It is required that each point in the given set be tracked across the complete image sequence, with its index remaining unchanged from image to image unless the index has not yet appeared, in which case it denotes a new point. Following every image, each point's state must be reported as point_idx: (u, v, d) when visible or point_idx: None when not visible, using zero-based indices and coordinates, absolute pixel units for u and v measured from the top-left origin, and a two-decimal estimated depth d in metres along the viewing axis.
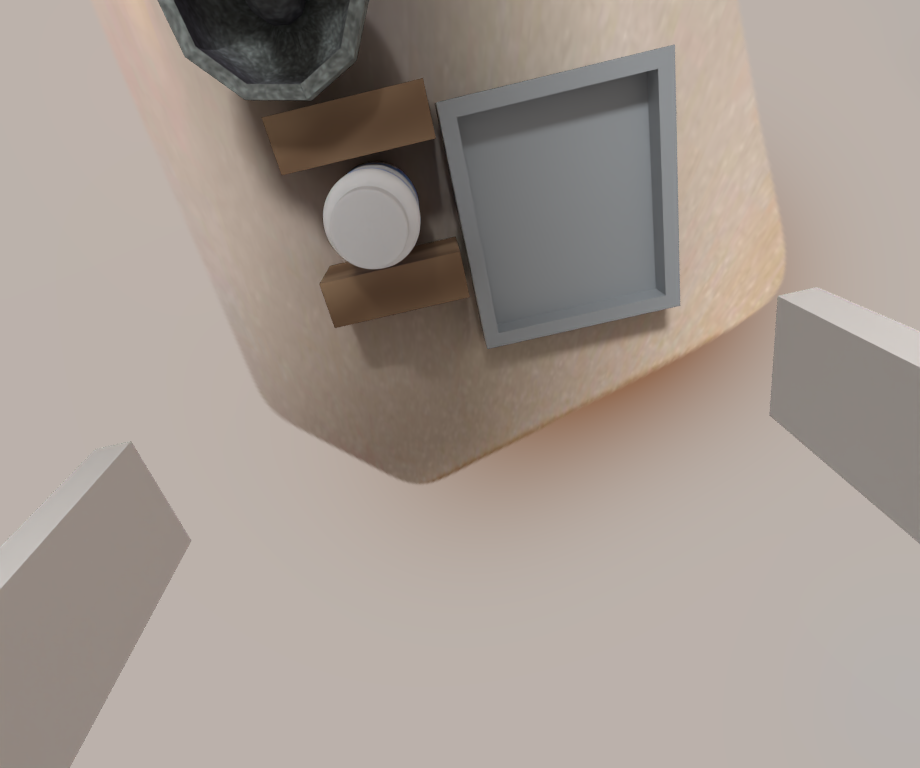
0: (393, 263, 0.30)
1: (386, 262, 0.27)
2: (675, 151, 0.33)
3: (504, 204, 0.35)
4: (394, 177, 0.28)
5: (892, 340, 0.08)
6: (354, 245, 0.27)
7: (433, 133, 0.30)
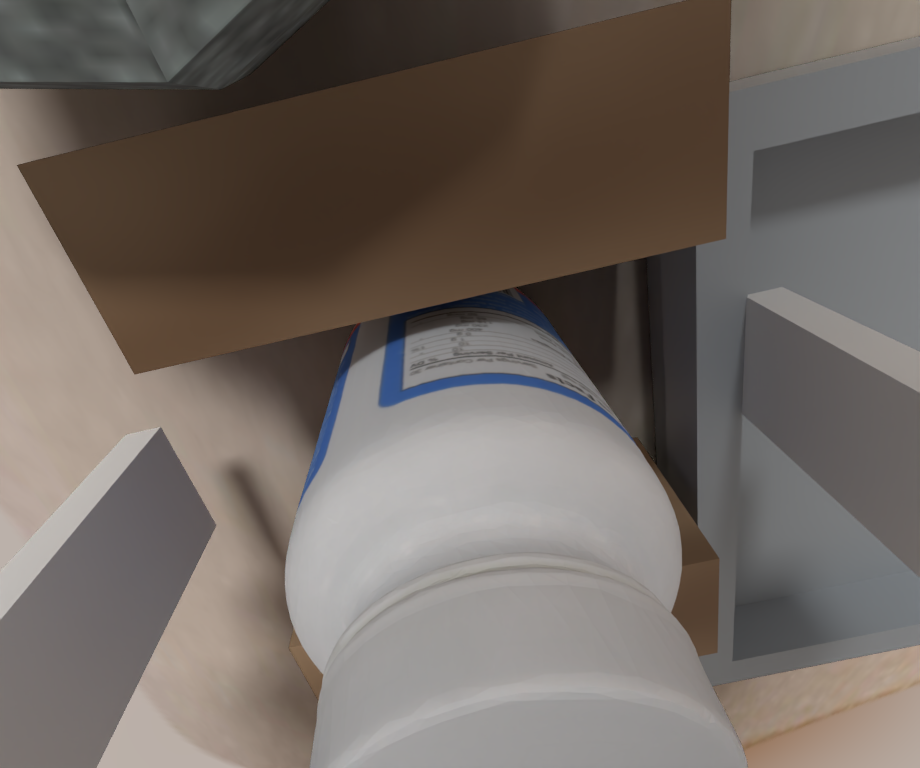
0: None
1: None
2: None
3: None
4: (605, 438, 0.06)
5: (845, 338, 0.08)
6: None
7: (721, 221, 0.08)
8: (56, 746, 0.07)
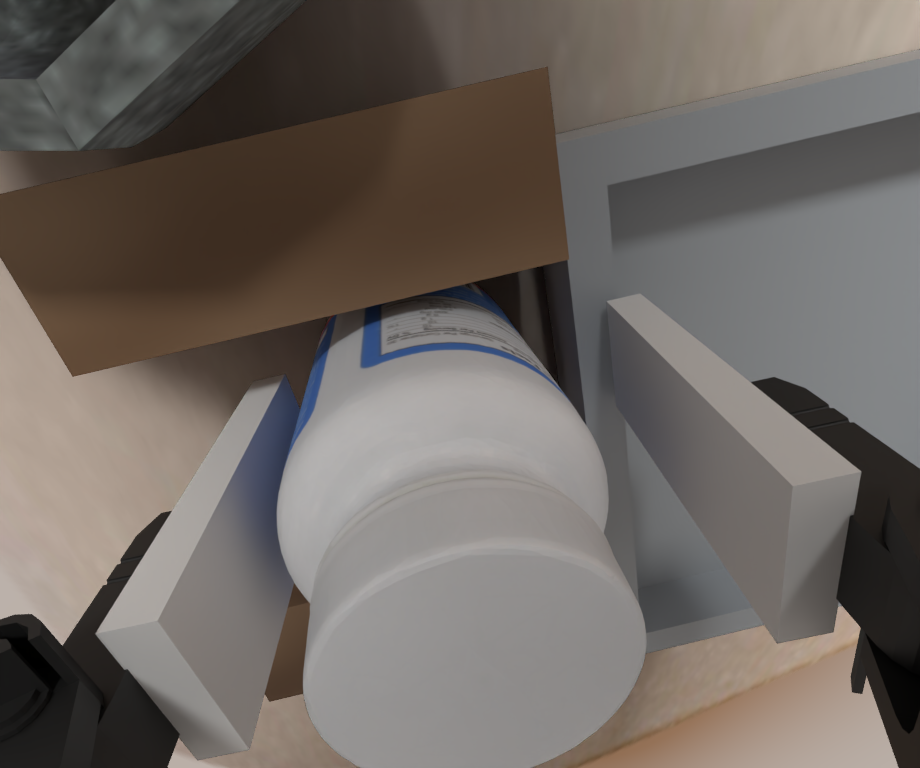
0: None
1: (533, 762, 0.07)
2: None
3: None
4: (546, 393, 0.08)
5: (663, 339, 0.09)
6: (412, 731, 0.06)
7: (563, 245, 0.09)
8: (252, 626, 0.08)
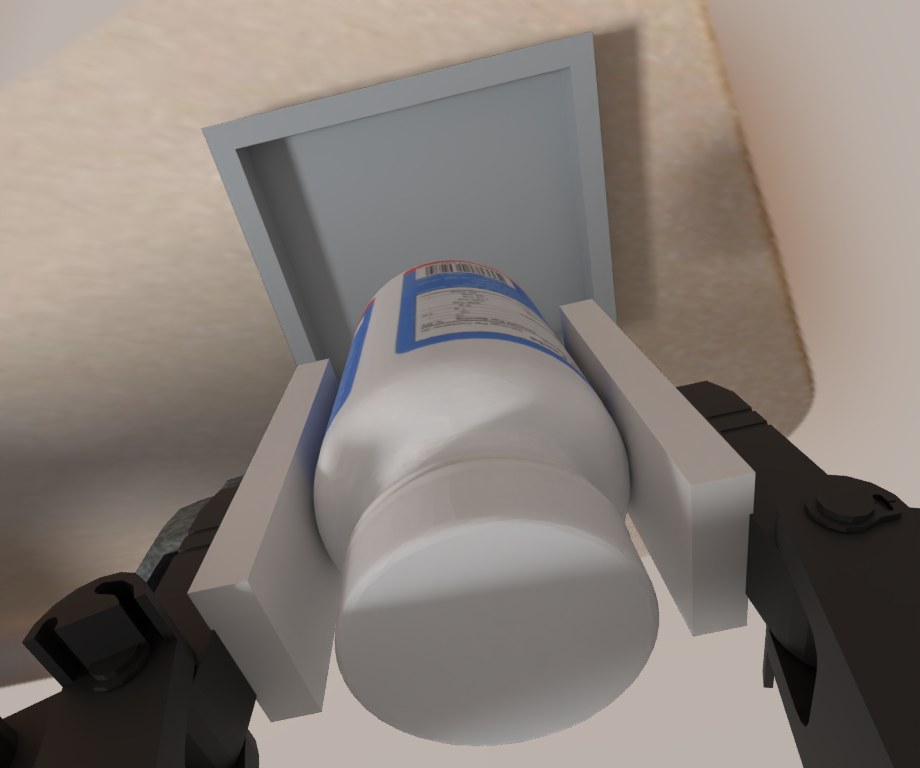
0: None
1: (547, 730, 0.07)
2: (339, 96, 0.21)
3: None
4: (572, 382, 0.08)
5: (603, 344, 0.10)
6: (433, 691, 0.07)
7: None
8: (317, 596, 0.08)
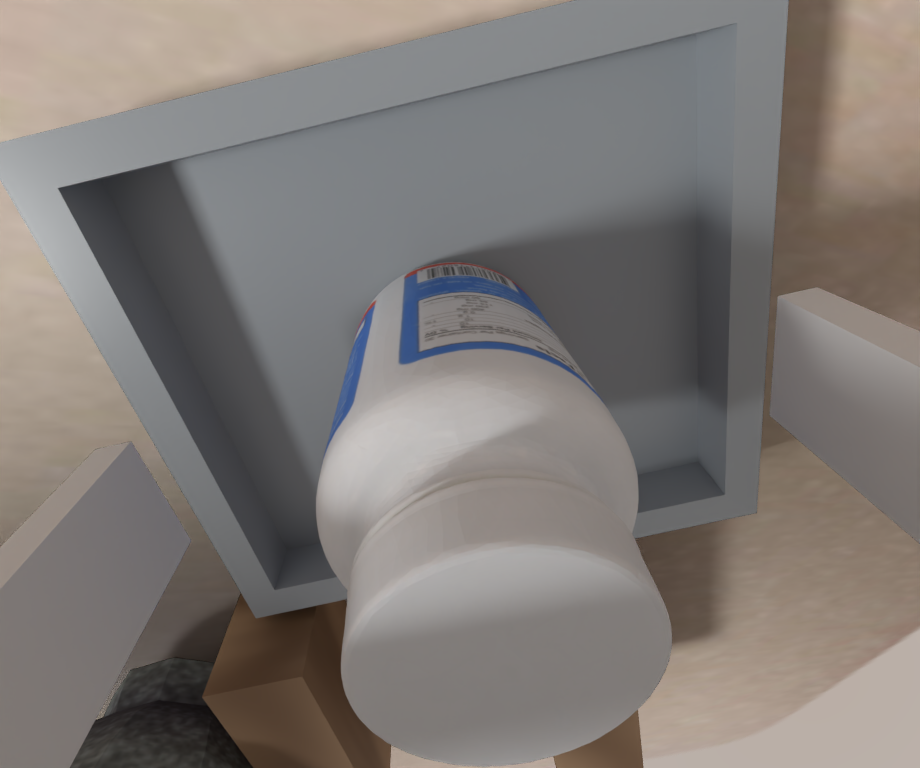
0: None
1: (556, 751, 0.07)
2: (262, 83, 0.10)
3: None
4: (580, 395, 0.08)
5: (892, 340, 0.08)
6: (442, 715, 0.06)
7: (294, 679, 0.15)
8: None
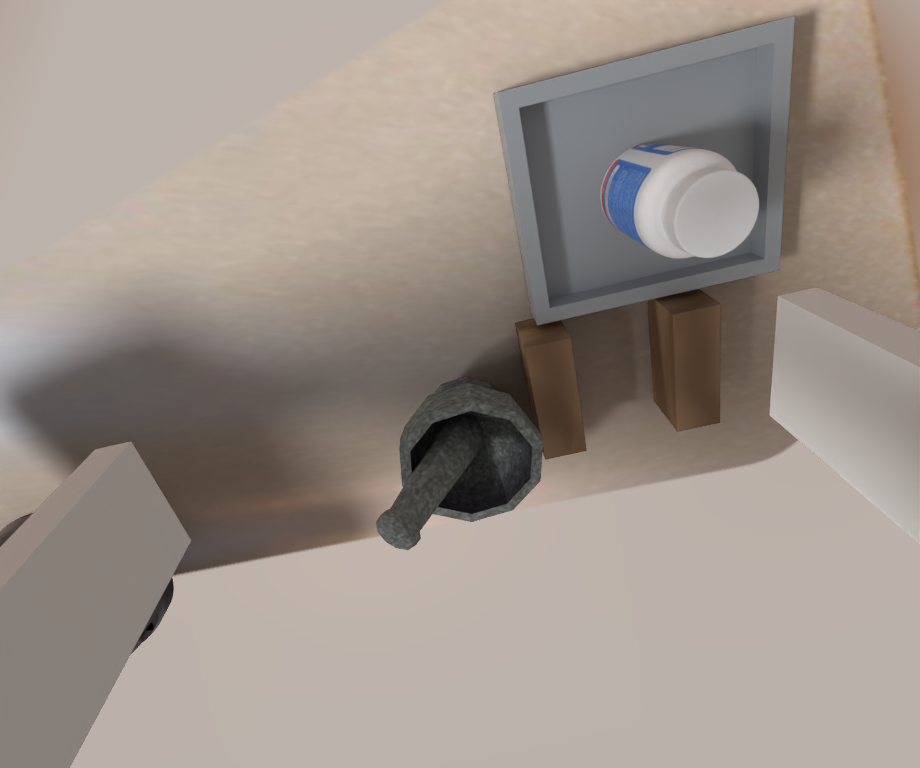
0: None
1: (723, 251, 0.25)
2: (601, 67, 0.29)
3: (625, 250, 0.35)
4: None
5: (892, 340, 0.08)
6: (697, 231, 0.25)
7: (566, 339, 0.34)
8: None
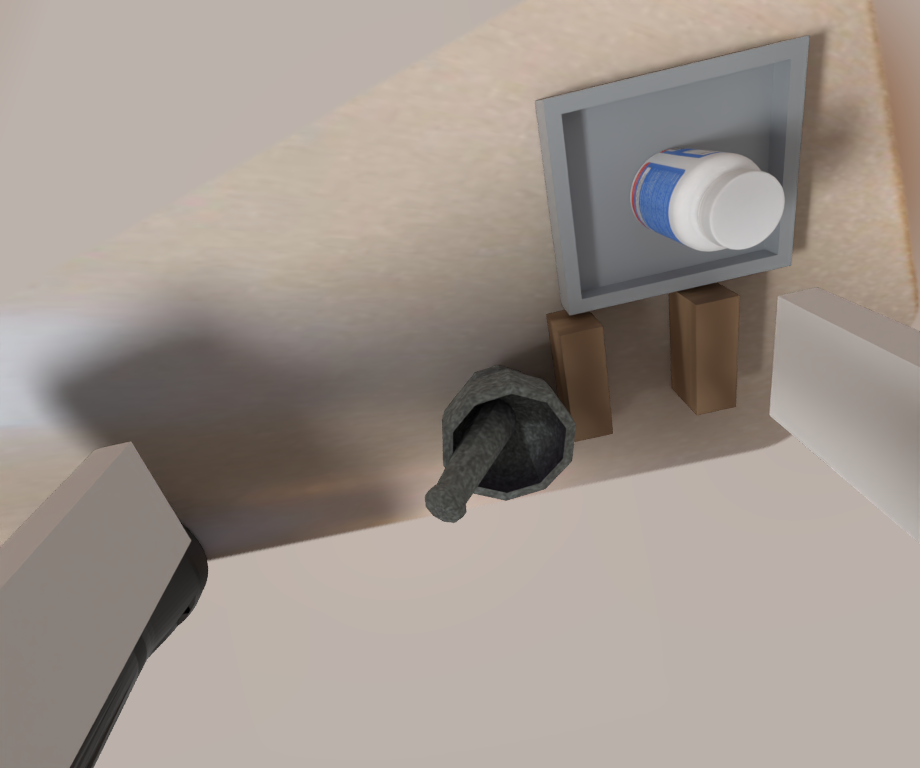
0: None
1: (752, 244, 0.28)
2: (637, 78, 0.31)
3: (651, 246, 0.38)
4: (753, 162, 0.29)
5: (892, 340, 0.08)
6: (729, 225, 0.28)
7: (599, 328, 0.36)
8: None
